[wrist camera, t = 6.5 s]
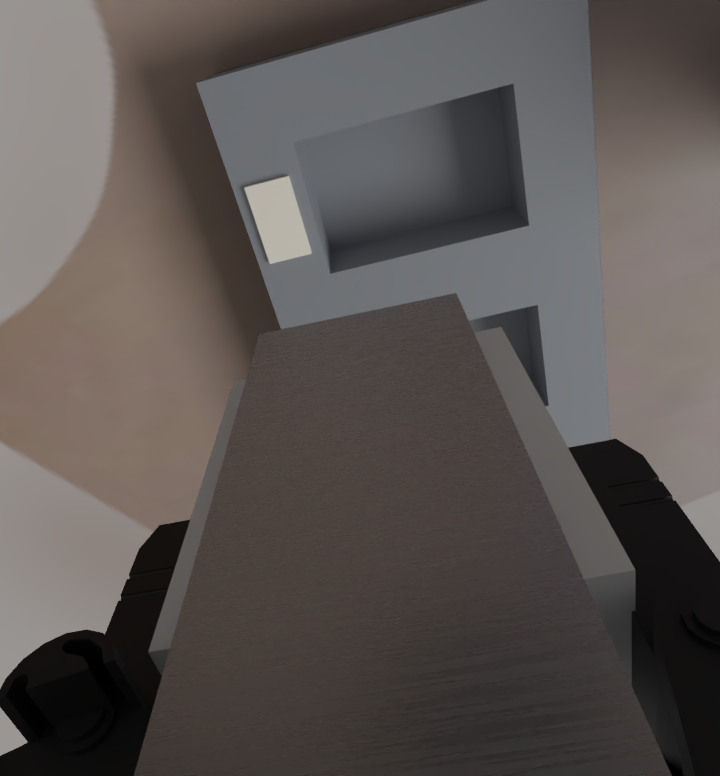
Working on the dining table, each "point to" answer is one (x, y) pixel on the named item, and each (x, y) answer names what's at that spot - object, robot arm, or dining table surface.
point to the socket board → (434, 182)
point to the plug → (387, 579)
